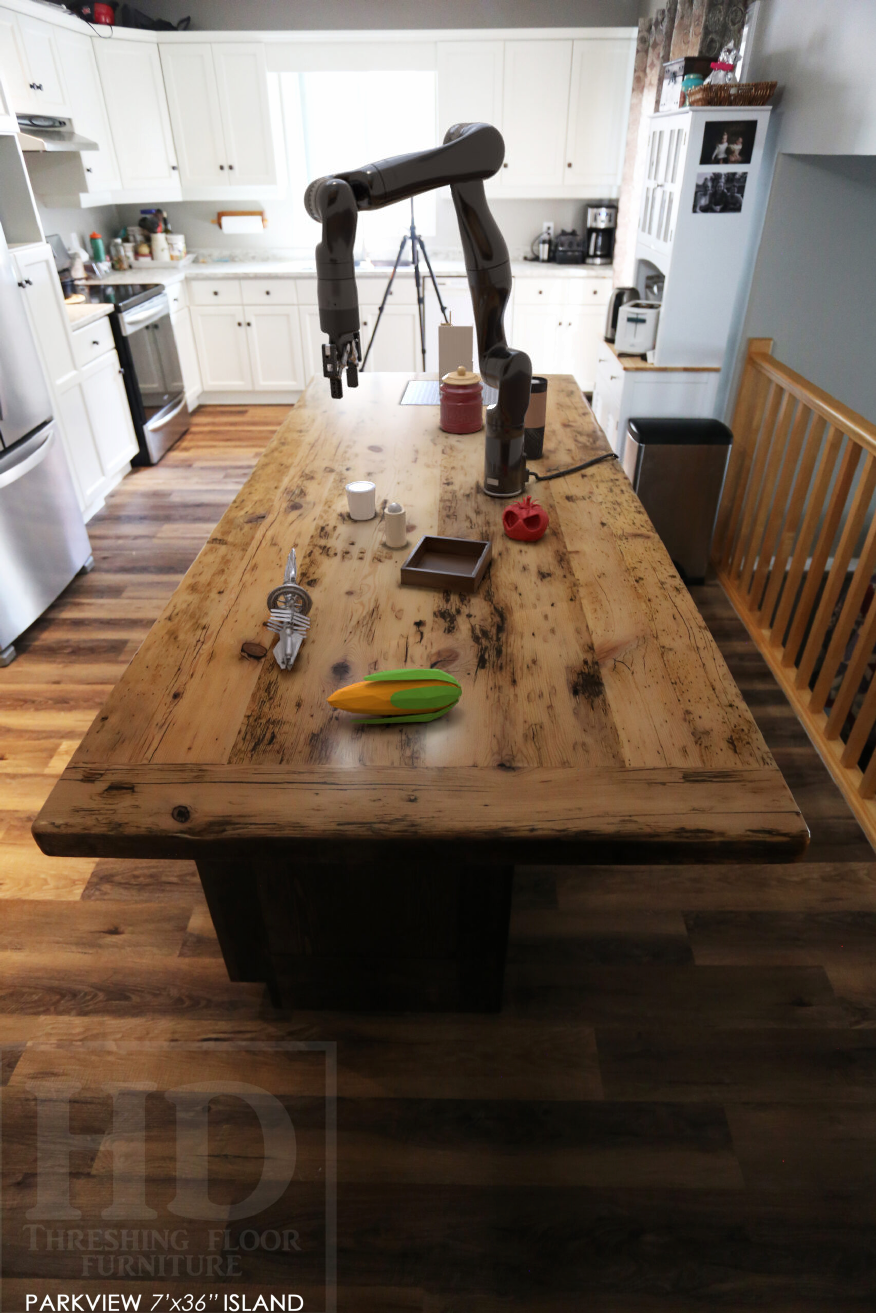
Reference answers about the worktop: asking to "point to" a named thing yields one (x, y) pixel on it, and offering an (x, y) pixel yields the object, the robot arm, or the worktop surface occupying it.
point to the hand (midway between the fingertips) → (345, 392)
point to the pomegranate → (525, 520)
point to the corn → (400, 695)
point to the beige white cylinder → (361, 500)
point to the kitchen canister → (461, 402)
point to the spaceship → (289, 614)
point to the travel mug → (535, 419)
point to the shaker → (395, 525)
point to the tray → (447, 563)
